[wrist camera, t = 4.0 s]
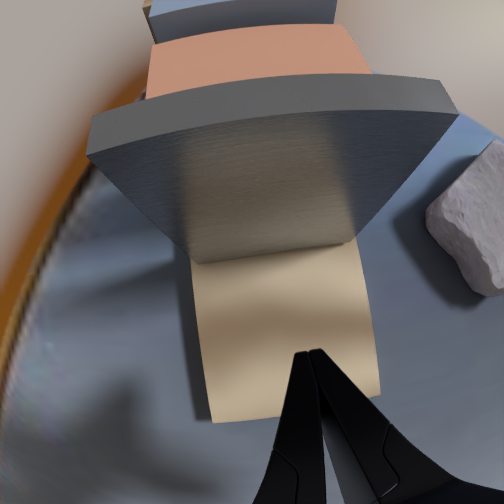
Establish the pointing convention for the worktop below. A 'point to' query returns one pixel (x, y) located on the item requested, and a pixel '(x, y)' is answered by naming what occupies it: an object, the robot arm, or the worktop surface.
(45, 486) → the worktop surface
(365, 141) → the grey flat rectangular panel
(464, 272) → the stone block
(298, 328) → the wooden book rack
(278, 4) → the book
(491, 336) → the worktop surface
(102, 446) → the worktop surface
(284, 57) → the book
